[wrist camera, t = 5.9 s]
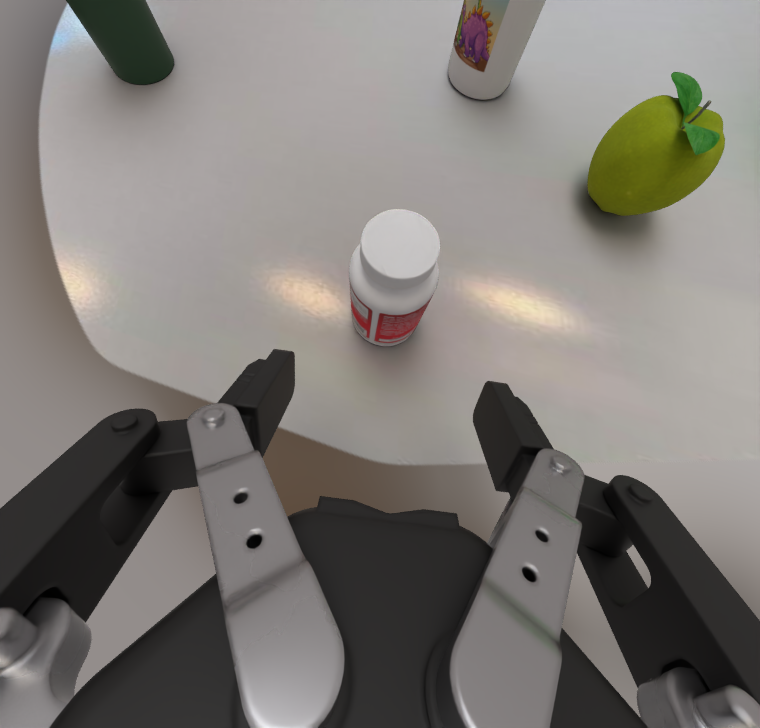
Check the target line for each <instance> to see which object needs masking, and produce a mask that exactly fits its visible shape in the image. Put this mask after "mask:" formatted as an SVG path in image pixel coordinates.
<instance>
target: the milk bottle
mask: <svg viewBox="0 0 760 728" xmlns="http://www.w3.org/2000/svg"><path fill="white" fill-rule="evenodd" d="M545 1H546V0H464V3H463V7H462V11H461V15H460V19H459V23H458V27H457V31H456V35H455V39H454V43H453V48H452V52H451V56H450V60H449V65H448V72H449V78H450V81H451V82H452V84H453V86H454V87H455V88H456V89H457V90H458V91H460V92H461V93H463V94H464V95H466V96H469V97H471V98H475V99H482V100H485V99H492V98H495V97H497V96H499V95H500V94H501V93H503V92H504V91H505V89H506V88H507V87H508V85H509V83H510V81H511V79H512V77H513V74H514V72H515V70H516V68H517V65H518V63H519V61H520V58H521V56H522V54H523V52H524V49H525V47H526V45H527V42H528V40H529V38H530V35H531V33H532V31H533V28H534V26H535V24H536V22H537V19H538V17H539V15H540V12H541V10H542V8H543V5H544V3H545Z"/></svg>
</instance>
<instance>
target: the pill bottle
mask: <svg viewBox="0 0 760 728" xmlns="http://www.w3.org/2000/svg"><path fill="white" fill-rule="evenodd" d="M439 253H440V240H439V236H438V233H437V231H436V230H435V228H434V226H433V225H432V224H431V223H430V222H429V221H428V220H427V219H426V218H424V217H423V216H421V215H420V214H417V213H415V212H413V211H409V210H403V209H393V210H388V211H384V212H382V213H380V214H378V215H376V216H375V217H373V218H372V219H371V220H370V221H369V222H368V223H367V224H366V226H365V228H364V230H363V232H362V236H361V243H360V244H359V245H358V246H357V248H356V249H355V251H354V253H353V255H352V258H351V261H350V266H349V281H350V296H351V311H352V319H353V323H354V326H355V328H356V330H357V331H358V333H359V334H360V335H361V336H362V337H363V338H364V339H365V340H367V341H369V342H371V343H373V344H375V345H379V346H393V345H397V344H399V343H401V342H403V341H405V340H406V339H407V338H408V337H409V336H410V335H411V334H412V333H413V331H414V330H415V328H416V326H417V325H418V323H419V321H420V319H421V317H422V315H423V313H424V311H425V309H426V307H427V305H428V303H429V302H430V300H431V298H432V296H433V294H434V291H435V289H436V287H437V283H438V278H439V268H438V263H437V259H438V257H439Z"/></svg>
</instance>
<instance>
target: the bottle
mask: <svg viewBox="0 0 760 728" xmlns="http://www.w3.org/2000/svg"><path fill="white" fill-rule="evenodd" d="M66 1H67V2H68V4H69V5H70V7H71V8H72V10H73V11H74V13H75V14H76V16H77V17H78V19H79V20H80V22H81V23H82V25H83V26H84V28H85V29H86V31H87V32H88V34H89V35H90V37H91V38H92V40H93V41H94V43H95V44H96V46H97V47H98V49H99V50H100V51H101V53H102V54H103V56H104V57H105V59H106V60H107V62H108V63H109V65H110V66H111V68H112V69H113V71H114V72H115V74H116V75H117V76H118V77H119V78H121V79H122V80H124V81H126V82H129V83H133V84H151V83H155V82H157V81H160V80H162V79H163V78H165V77H166V76H167V75H168V74H169V73H170V72H171V70H172V69H173V66H174V58H173V56H172V53H171V51H170V49H169V47H168V45H167V43H166V41H165V39H164V37H163V35H162V33H161V31H160V29H159V27H158V25H157V23H156V21H155V19H154V17H153V15H152V13H151V10H150V8H149V6H148V4H147V2H146V0H66Z"/></svg>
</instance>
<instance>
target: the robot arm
mask: <svg viewBox="0 0 760 728" xmlns="http://www.w3.org/2000/svg"><path fill="white" fill-rule="evenodd" d="M294 386H295V356H294V352H292V351H285V350H278V349H274V350H273V351H272V352H271V354H270V355H269V356H268V358H267V359H266V360H263V359H258V360H257V361H255V362H253V363H251V364H249V365H248V366H247V367H246V369H245V370H244V371H243V372H242V374H241V375H240V376H239V377H238V378H237V381H235V382H234V383H233V384H232V386H231V387H230V388H229V389H228V391H227V392H226V393H225V394H224V395H223V397H222V398H221V399H220V400H219V402H218V403H216V404H210V405H206V406H204V407H201V408H199V409H197V410H196V411H194V412H193V413H192V414H191V415H190V416H189V418H188V419H184V420H173V421H161V422H158V421H157V418H156V416H155V414H154V413H153V412H152V411H150V410H146V409H129V410H124V411H120V412H118V413H115V414H113V415H110V416H108V417H107V418H105V419H103V420H102V421H101V422H99V423H98V424H97V425H96V426H95V427H94V428H92V429H91V430H90V431H89V432H88V433H87V434H85V435H84V436H83V437H82V438H81V439H80V440H78V441H77V442H76V443H75V444H74V445H73V446H72V447H70V448H69V449H68V450H67V451H66V452H65V453H64V454H62V455H61V456H60V457H59V458H58V459H57V460H56V461H54V462H53V463H52V464H51V465H50V466H49V467H48V468H46V469H45V470H44V471H43V472H42V473H41V474H39V475H38V476H37V477H36V478H35V479H34V480H32V481H31V482H30V483H29V484H28V485H27V486H26V487H25V488H23V489H22V490H21V491H20V492H19V493H18V494H16V495H15V496H14V497H13V498H12V499H11V500H10V501H8V502H7V503H6V504H5V505H4V506H3V507H2V508H1V509H0V728H760V621H759V619H758V618H757V617H756V616H755V615H754V613H753V612H752V611H751V609H750V608H749V607H748V606H747V604H746V603H745V602H744V601H743V599H742V598H741V597H740V596H739V594H738V593H737V592H736V591H735V589H734V588H733V587H732V586H731V585H730V583H729V582H728V581H727V579H726V578H725V577H724V576H723V574H722V573H721V572H720V571H719V569H718V568H717V567H716V566H715V564H713V562H712V561H711V560H710V558H709V557H708V556H707V555H706V553H705V552H704V551H703V549H702V548H701V547H700V546H699V544H698V543H697V542H696V541H695V540H694V538H693V537H692V536H691V535H690V533H689V532H688V531H687V530H686V528H685V527H684V526H683V525H682V523H681V522H680V521H679V520H678V518H677V517H676V516H675V515H674V513H673V512H672V511H671V510H670V509H669V507H668V506H667V505H666V503H665V502H664V501H663V500H662V498H661V497H660V496H659V495H658V494H657V493H656V492H655V491H653V490H652V489H651V488H650V487H648V486H647V485H645V484H644V483H642V482H640V481H638V480H636V479H634V478H631V477H629V476H623V475H618V476H615V477H614V478H613V479H612V480H611V481H610V483H609V484H607V483H605V482H602V481H599V480H597V479H594V478H591V477H589V476H586V475H584V473H583V470H582V469H581V467H580V466H579V465H578V464H577V463H576V462H575V461H574V460H573V459H572V458H570V457H569V456H568V455H566V454H564V453H562V452H560V451H557V450H554V449H553V447H552V445H551V444H550V442H549V440H548V439H547V437H546V435H545V434H544V432H543V431H542V429H541V427H540V426H539V425H538V422H537V421H536V419H535V417H533V414H532V413H531V411H530V409H529V408H528V406H527V405H526V404H525V403H524V402H523V401H521V400H520V399H519V398H518V397H515V396H514V395H513V393H512V391H511V390H510V388H509V386H508V385H507V384H506V383H499V382H492V381H487V382H486V383H485V385H484V387H483V389H482V392H481V394H480V397H479V399H478V402H477V404H476V407H475V409H474V413H473V423H474V426H475V429H476V432H477V435H478V438H479V441H480V444H481V447H482V450H483V453H484V456H485V459H486V462H487V465H488V468H489V471H490V474H491V477H492V480H493V483H494V486H495V489H496V491H501V492H509V494H510V499H509V501H508V502H507V504H506V506H505V508H504V510H503V512H502V514H501V516H500V518H499V520H498V522H497V524H496V526H495V528H494V530H493V532H492V535H491V537H490V538H489V540H488V543H486V542H485V541H484V540H482V539H481V538H480V537H478V536H477V535H476V534H474V533H473V532H471V531H469V530H467V529H465V528H463V527H461V526H459V523H458V517H457V514H456V513H448V512H440V511H432V510H416V511H408V512H400V513H392V514H389V513H385V512H383V511H380V510H377V509H375V508H372V507H370V506H367V505H364V504H362V503H359V502H357V501H354V500H346V499H339V498H331V497H322V496H320V498H319V502H318V506H317V507H315V508H309V509H305V510H302V511H299V512H296V513H294V514H292V515H290V516H288V517H287V516H286V513H285V511H284V508H283V506H282V504H281V501H280V499H279V497H278V494H277V492H276V490H275V487H274V485H273V482H272V480H271V478H270V475H269V473H268V471H267V468H266V466H265V464H264V462H263V459H262V458H263V456H264V453H265V452H266V449H267V447H268V445H269V443H270V441H271V439H272V437H273V435H274V433H275V431H276V429H277V427H278V425H279V423H280V421H281V419H282V417H283V415H284V413H285V410H286V408H287V406H288V404H289V402H290V400H291V398H292V396H293V392H294ZM196 486H199V491H200V496H201V501H202V506H203V511H204V516H205V520H206V525H207V530H208V535H209V540H210V545H211V550H212V555H213V559H214V564H215V570H216V574H215V575H214V576H213V577H212V578H210V579H209V580H208V581H207V582H206V583H204V584H203V585H202V586H201V587H200V588H198V589H197V590H196V591H195V592H194V593H192V594H191V595H190V596H189V597H188V598H187V599H185V600H184V601H183V602H182V603H180V604H179V605H178V606H177V607H176V608H175V609H173V610H172V611H171V612H170V613H169V614H167V615H166V616H165V617H164V618H162V619H161V620H160V621H159V622H158V623H157V624H155V625H154V626H153V627H152V628H150V629H149V630H148V631H147V632H146V633H144V634H143V635H142V636H141V637H140V638H138V639H137V640H136V641H135V642H134V643H132V644H131V645H130V646H129V647H128V648H126V649H125V650H124V651H123V652H122V653H120V654H119V655H118V656H117V657H116V658H114V659H113V660H112V661H111V662H110V663H108V664H107V665H106V666H105V667H104V668H102V669H101V670H100V671H99V672H98V673H97V674H95V676H93V677H92V678H91V679H90V680H89V681H88V682H87V683H86V684H85V685H84V686H83V687H82V688H81V689H80V690H79V691H78V692H77V694H76V695H75V696H74V689H75V684H76V680H77V677H78V673H79V671H80V669H81V667H82V665H83V663H84V661H85V659H86V657H87V655H88V652H89V649H90V645H91V631H90V628H89V626H88V625H87V624H86V621H87V620H88V618H89V616H90V615H91V613H92V612H93V610H94V609H95V607H96V606H97V604H98V603H99V601H100V600H101V598H102V596H103V595H104V594H105V592H106V590H107V589H108V588H109V586H110V584H111V583H112V581H113V580H114V578H115V577H116V575H117V574H118V572H119V571H120V569H121V568H122V566H123V564H124V563H125V562H126V560H127V559H128V557H129V556H130V554H131V552H132V551H133V549H134V548H135V546H136V545H137V543H138V542H139V540H140V539H141V537H142V536H143V534H144V532H145V531H146V530H147V528H148V526H149V525H150V523H151V522H152V520H153V519H154V517H155V516H156V514H157V513H158V511H159V510H160V508H161V507H162V505H163V504H164V502H165V500H166V499H167V498H168V496H169V494H170V493H171V492H172V490H177V489H183V488H190V487H196ZM632 545H634V546H635V548H636V549H637V551H638V553H639V554H640V556H641V558H642V559H643V561H644V562H645V564H646V566H647V567H648V569H649V572H650V575H651V585H650V587H649V588H648V587H647V586H646V584H645V582H644V580H643V579H642V577H641V576H640V574H639V572H638V570H637V569H636V567H635V565H634V563H633V562H632V560H631V558H630V557H629V555H628V553H627V552H626V550H627V549H629V548H630V547H631V546H632ZM576 553H577V554H578V556H579V558H580V560H581V562H582V565H583V567H584V569H585V571H586V574H587V575H588V578H589V580H590V583H591V585H592V587H593V589H594V591H595V594H596V596H597V598H598V600H599V603H600V605H601V607H602V609H603V611H604V614H605V616H606V618H607V620H608V623H609V625H610V627H611V629H612V632H613V634H614V636H615V638H616V640H617V643H618V645H619V647H620V649H621V652H622V653H623V656H624V658H625V660H626V663H627V665H628V667H629V669H630V672H631V674H632V676H633V678H634V681H635V683H636V685H637V687H638V691H637V705H638V709H639V713H640V716H641V717H639V716H638V715H637V714H636V713H635V711H634V710H633V709H632V708H631V707H630V706H629V705H628V704H627V702H626V701H625V700H624V699H623V698H622V697H621V695H620V694H619V693H618V692H617V691H616V690H615V689H614V687H613V686H612V685H611V684H610V683H609V682H608V680H607V679H606V678H605V677H604V676H603V675H602V674H601V672H600V671H599V670H598V669H597V668H596V667H595V666H594V664H593V663H592V662H591V661H590V660H589V659H588V658H587V656H586V655H585V654H584V653H583V652H582V650H581V649H580V648H579V647H578V646H577V645H576V644H575V643H574V641H573V640H572V639H571V638H570V637H569V635H568V634H567V633H566V632H565V631H564V630H563V629H562V623H563V618H564V612H565V608H566V603H567V597H568V593H569V588H570V583H571V578H572V573H573V568H574V563H575V558H576Z"/></svg>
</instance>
